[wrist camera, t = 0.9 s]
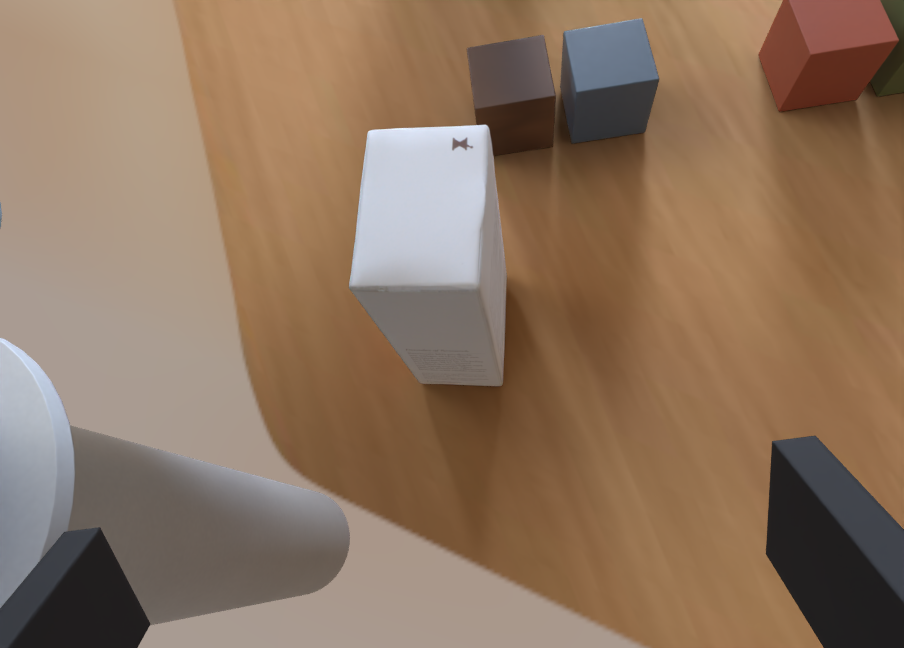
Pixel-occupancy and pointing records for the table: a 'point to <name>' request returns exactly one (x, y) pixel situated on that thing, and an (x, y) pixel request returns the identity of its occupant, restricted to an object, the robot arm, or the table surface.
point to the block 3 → (825, 50)
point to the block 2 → (607, 80)
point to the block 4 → (892, 54)
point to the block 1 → (514, 93)
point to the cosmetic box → (433, 252)
